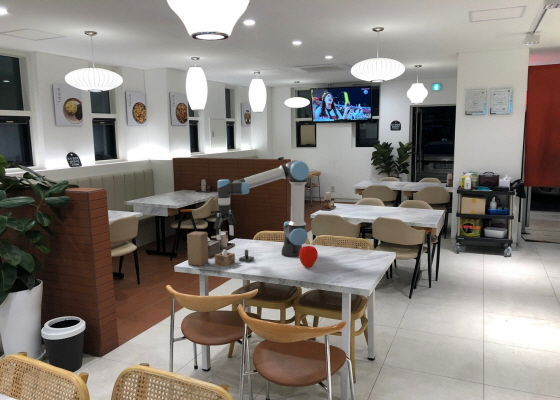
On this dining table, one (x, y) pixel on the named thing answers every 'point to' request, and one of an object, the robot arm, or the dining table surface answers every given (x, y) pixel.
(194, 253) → the wooden block
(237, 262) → the hub
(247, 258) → the stand
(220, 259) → the collar
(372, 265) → the dining table surface
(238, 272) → the dining table surface
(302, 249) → the apple
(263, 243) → the dining table surface
